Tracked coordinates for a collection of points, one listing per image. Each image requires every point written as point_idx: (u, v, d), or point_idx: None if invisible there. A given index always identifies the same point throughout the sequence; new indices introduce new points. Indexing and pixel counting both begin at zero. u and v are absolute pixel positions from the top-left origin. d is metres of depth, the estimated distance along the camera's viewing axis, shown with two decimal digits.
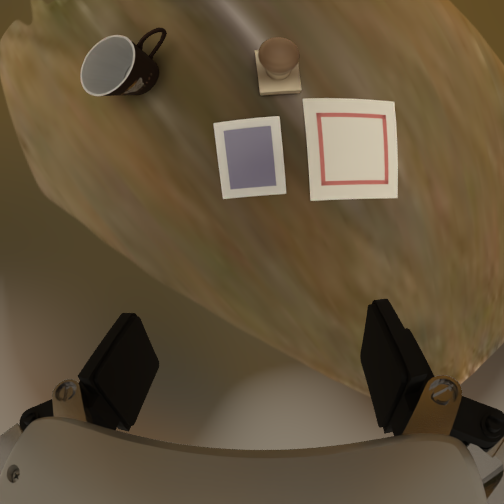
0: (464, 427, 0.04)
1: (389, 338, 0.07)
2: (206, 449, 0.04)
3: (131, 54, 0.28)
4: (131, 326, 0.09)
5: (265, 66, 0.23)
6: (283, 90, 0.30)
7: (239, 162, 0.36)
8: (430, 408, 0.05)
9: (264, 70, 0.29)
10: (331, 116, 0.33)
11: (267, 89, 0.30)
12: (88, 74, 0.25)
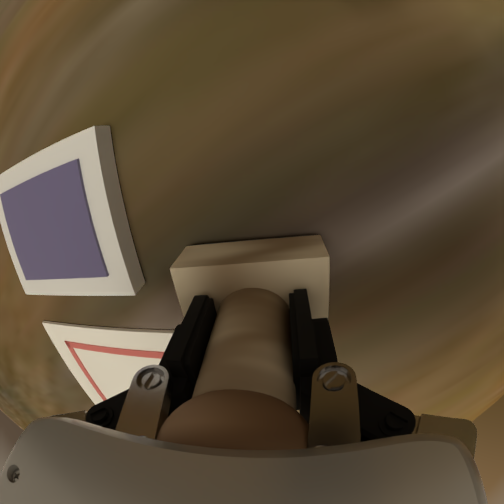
0: None
1: (294, 323, 0.09)
2: (206, 449, 0.04)
3: None
4: (208, 307, 0.10)
5: None
6: None
7: (31, 207, 0.12)
8: (326, 397, 0.06)
9: (248, 284, 0.11)
10: None
11: (182, 288, 0.11)
12: None
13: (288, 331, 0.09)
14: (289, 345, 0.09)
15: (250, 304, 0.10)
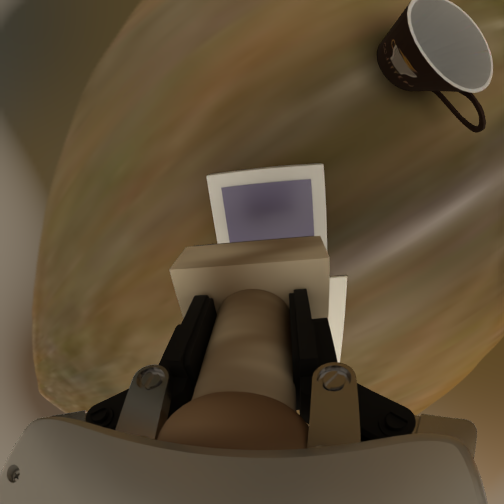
0: None
1: (294, 323, 0.09)
2: (206, 449, 0.04)
3: (443, 65, 0.16)
4: (208, 307, 0.10)
5: None
6: None
7: (262, 200, 0.25)
8: (326, 398, 0.06)
9: (248, 285, 0.11)
10: None
11: (181, 289, 0.11)
12: (438, 6, 0.10)
13: (288, 332, 0.09)
14: (289, 347, 0.09)
15: (250, 305, 0.10)
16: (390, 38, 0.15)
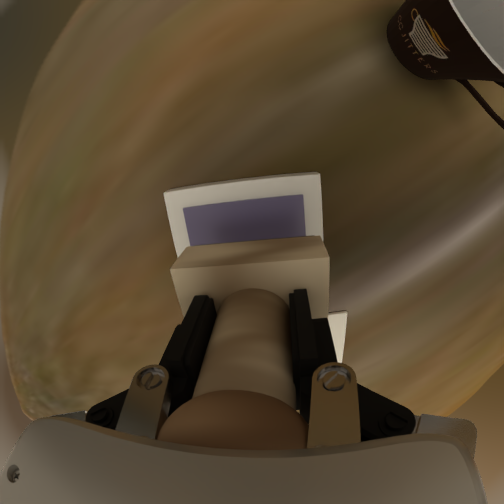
0: None
1: (294, 323, 0.09)
2: (206, 449, 0.04)
3: None
4: (208, 307, 0.10)
5: None
6: None
7: (237, 224, 0.19)
8: (326, 398, 0.06)
9: (248, 284, 0.11)
10: None
11: (182, 289, 0.11)
12: None
13: (288, 332, 0.09)
14: (289, 346, 0.09)
15: (250, 305, 0.10)
16: (409, 8, 0.09)
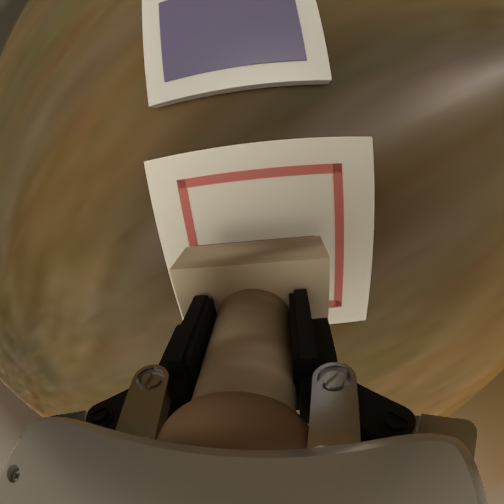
0: None
1: (294, 323, 0.09)
2: (206, 449, 0.04)
3: None
4: (208, 307, 0.10)
5: None
6: None
7: (216, 6, 0.11)
8: (326, 398, 0.06)
9: (248, 285, 0.11)
10: (335, 196, 0.17)
11: (182, 289, 0.11)
12: None
13: (288, 332, 0.09)
14: (289, 346, 0.09)
15: (250, 305, 0.10)
16: None
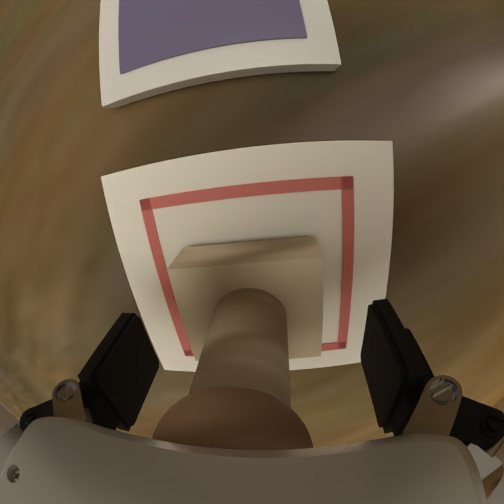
0: (464, 427, 0.04)
1: (389, 338, 0.07)
2: (206, 449, 0.04)
3: None
4: (131, 326, 0.09)
5: None
6: None
7: None
8: (430, 408, 0.05)
9: (244, 284, 0.11)
10: (343, 219, 0.13)
11: (179, 289, 0.11)
12: None
13: (283, 330, 0.10)
14: (283, 344, 0.09)
15: (245, 304, 0.10)
16: None
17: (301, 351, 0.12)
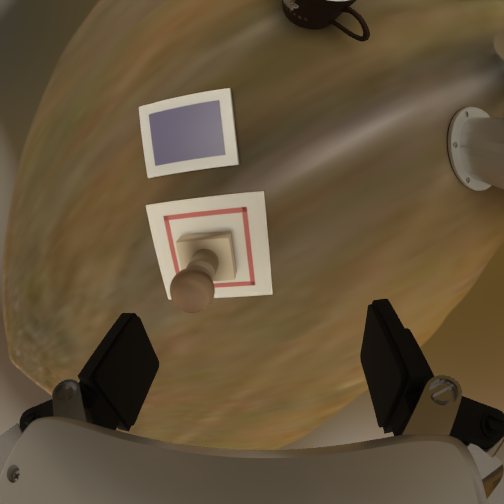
0: (464, 427, 0.04)
1: (389, 338, 0.07)
2: (206, 449, 0.04)
3: None
4: (131, 326, 0.09)
5: (173, 279, 0.25)
6: (181, 265, 0.32)
7: (179, 121, 0.27)
8: (430, 408, 0.05)
9: (202, 247, 0.31)
10: (244, 224, 0.33)
11: (179, 249, 0.31)
12: None
13: (213, 261, 0.30)
14: (212, 264, 0.29)
15: (202, 253, 0.30)
16: None
17: (226, 277, 0.33)
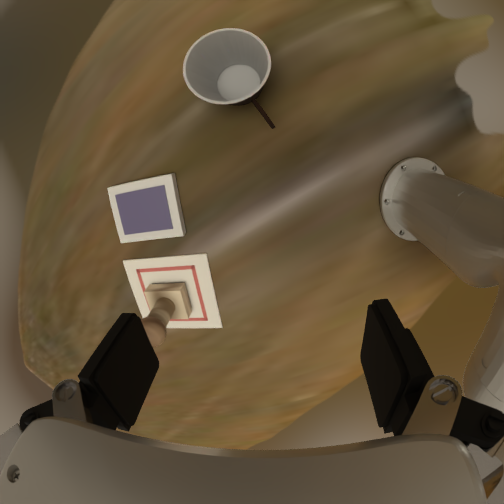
0: (464, 427, 0.04)
1: (389, 338, 0.07)
2: (206, 449, 0.04)
3: (261, 76, 0.27)
4: (131, 326, 0.09)
5: None
6: (150, 307, 0.42)
7: (137, 201, 0.36)
8: (430, 408, 0.05)
9: (162, 296, 0.40)
10: (194, 277, 0.42)
11: (147, 296, 0.41)
12: (226, 36, 0.21)
13: (169, 308, 0.39)
14: (168, 311, 0.38)
15: (161, 301, 0.39)
16: None
17: (182, 317, 0.42)
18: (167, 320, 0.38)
